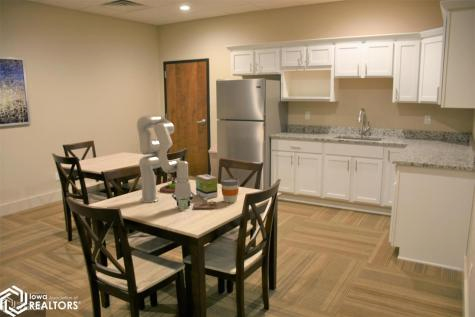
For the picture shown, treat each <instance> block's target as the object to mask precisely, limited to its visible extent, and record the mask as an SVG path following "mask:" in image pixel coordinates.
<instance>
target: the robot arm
mask: <svg viewBox="0 0 475 317" xmlns="http://www.w3.org/2000/svg"><path fill="white" fill-rule="evenodd" d="M136 129H137V133H138V140H139V149H140V153H141V154H143V155H147V156H143V157H141V158H140V159H139V161H138V166H139V169H140V177H141V178H140V179H141V180H140V181H141V195H142V197H141V198H140V199H139V200H140V202H141V203H145V204H149V203H156V202H158V201H159V197H158V196H157V187H156V186H157V185H156V174H155V172H154V169H158V168H161V170H162V172H164V173H166V174H168V173H174V172H176V177H175V178H174V179H175V182H176V184H175V192H174V193H171V198H173V199H174V201H176V206H177V207H178V200H179V198H188V208H190V206H191V200H193V199H194V197H196V195H195V194H196V193H194V192H193V191H192V189H191V182H190V181H189V162H187V161H186V160H180V159H172V160H169V159H168V154H167V153H168V150H169V149H170V148H171V147H172V146H173V141H172V140H173V139H172V138H171V135H172V134H173V133H175V126H174V124H173V123H172V122H171V121H169V120H168V119H166V118H165V117H163V116H162V115H159V114H156V115H155V114H153V115H152V114H151V115H144V116H141V117H139V118H138V119H137V123H136ZM150 129H153V131H154V133H155V136H156V138H157V139H153V135H152V132H151V130H150Z"/></svg>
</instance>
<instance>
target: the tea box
mask: <svg viewBox="0 0 475 317" xmlns="http://www.w3.org/2000/svg"><path fill="white" fill-rule="evenodd" d="M195 194H196V195H195V196H199V197H202V198H207V200H209V199H212V198H213V197H214V198H218V177H216V176H214V175H211V174H208V173H206V174H201V175H200V174H198V175H195ZM208 198H209V199H208Z"/></svg>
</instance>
